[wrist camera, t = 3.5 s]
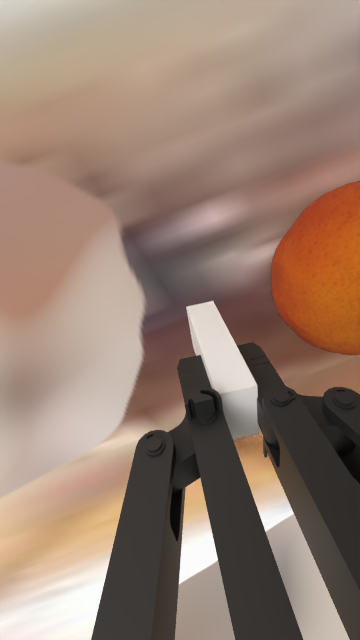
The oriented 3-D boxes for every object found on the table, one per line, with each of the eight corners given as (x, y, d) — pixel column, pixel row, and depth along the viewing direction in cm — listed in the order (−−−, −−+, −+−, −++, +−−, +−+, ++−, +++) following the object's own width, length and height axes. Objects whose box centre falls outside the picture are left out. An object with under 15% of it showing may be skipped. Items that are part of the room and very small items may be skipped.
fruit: (336, 131, 17) (462, 128, 11) (421, 226, 22) (552, 267, 15) (225, 274, 21) (267, 337, 15) (315, 331, 26) (380, 402, 19)
